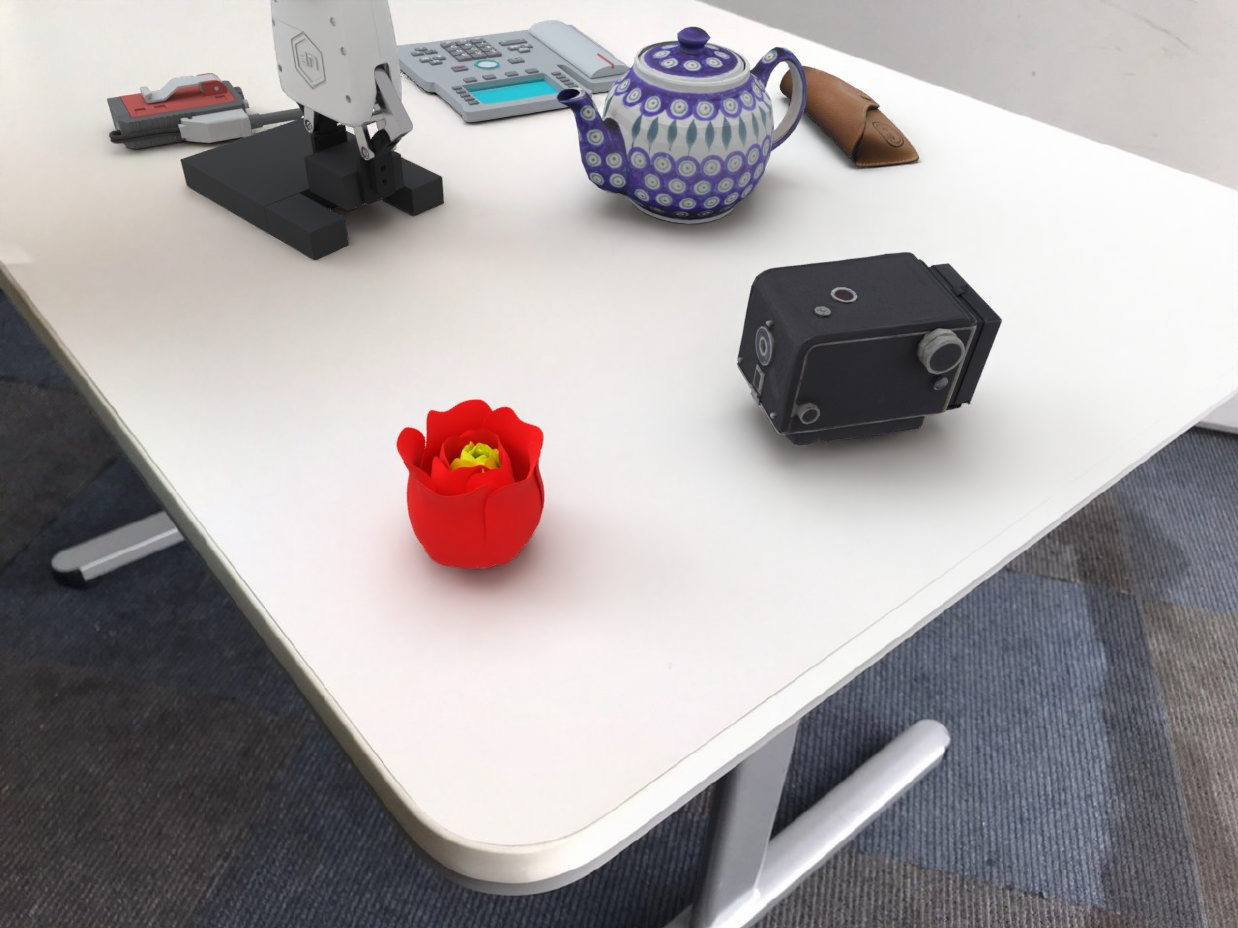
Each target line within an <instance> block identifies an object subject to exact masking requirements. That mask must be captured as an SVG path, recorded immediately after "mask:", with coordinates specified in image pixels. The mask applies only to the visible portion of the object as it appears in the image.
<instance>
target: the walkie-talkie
mask: <svg viewBox="0 0 1238 928" xmlns="http://www.w3.org/2000/svg"><path fill="white" fill-rule="evenodd" d="M139 90H140V92H138V93H132V94H131V93H130V94H126V95H119V96H114V97H108V98H106V101H107V105H108V108H109V113H110V115H111V119H112V122H113V125H114V127H115V130H112V131H110V132H109V133H108V137H109V141H110V142H111V144H114V145H115V144H116V145H121V144H124V146H125V148H128V149H133V150H139V149H146V148H151V147H156V146H164V145H169V144H174V143H179V142H185V141H186V142H195V143H205V144H211V143H216V142H222V141H228V140H234V139H241V138H245V137H248V136H250V135H253V133H252V130H255V129H261V128H263V126H268V125H274V124H279V123H288V122H292V121H295V120H297V119H300V118H303V117H304V114H303V112H302V111H301V109H300V107H297V108H291V109H284V110H278V111H273V112H268V113H267V112H266V113H247V111H246V110H247V109H249V108H250V103H249V101H248V99H245V95H244V93H243V90H242V88H241V87H240V86H234V85H233V84H232V83H231V81H230V80H224V79H223V80H221V78H220V77H219V76H218V75H217V74H216V73H212V72H206V73H200V74H196V75H187V76H179V77H173V78H171V79H170V80H169V81H168V82H167V83H166V84H164V86H162V87H161V88H160V89H158V90H151V89H150V88H149V87H148V86H146V85H145V86H140V87H139Z"/></svg>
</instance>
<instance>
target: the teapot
mask: <svg viewBox="0 0 1238 928" xmlns="http://www.w3.org/2000/svg"><path fill="white" fill-rule="evenodd" d="M676 35H677V39H676V40H675V39H674V40H665V41H660V42H659V41H658V42H653V43H650V44H648V45H645V46H643V47H641V48H639V50H638V51H637V52H636V53H635V56H634V57H633V59H634V60H633V64H632V65H631V67H630V69H629V70H628V71H627V72H625V73H624V74H623V75H622V76H621V77H619V78H618V79H617V80H616V81H615V82H614V84H613V85H612V86H611V88H610V90H609V91H607V95H606V97H605V99H604V105H603V110H602V115H601V113H600V111H599V109H598V107H597V105H596V103H595V101H594V100H593V97H592V98H591V97H590V96H589V94H588V93H587V92H586V91H584V90H582V89H581V88H577V87H573V88H568V89H564V90H562V91H561V92H559V93H558V95H557V97H556V99H557V101H559V102H560V103H562V104H564V105H566V106H568V107H567V108H569V109H570V110H571V112H572V114H573V116H574V120H575V125H576V130H577V138H578V146H579V147H578V148H579V155H580V160H581V164H582V166H583V169H584V170H585V173H586V175H587V178H588V180H589V181H591V183H592V184H593V185H595V186H596V187H597V188H598V189H600V190H602V191H604V192H606V193H610V194H617V195H621V196H625V197H627V198H628V199H629V201H630V202H631V203H632V204H633V205H634V207H636V208H637V209H638V210H639V211H641V212H643V213H644V214H647V215H649V216H651V217H653V218H656V219H659V220H663V221H666V222H671V223H676V224H677V223H679V224H687V225H693V224H694V225H695V224H702V223H708V222H713V221H716V220H719V219H721V218H724V217H726V216H728V215H729V214H730V213H732V212H733V211H734V209H735V207H736V206H737V205H738V204H739V203H741V202H742V201H743V200H745V199H746V198H747V197H748V196H750V195H751V194H752V193H753V191H754V190H755V189H756V187H757V186H758V185H759V183H760V182H761V180H762V178H763V176H764V175H765V172H766V168H767V165H768V163H769V160H770V157H771V154H772V152H773V151H774V150H776V149H777V148H778V147H780V146H781V145H782V144H784V143H785V142H786V140H788V139H789V138H790V137H791V135H792V134H793V133H794V132H795V130H796V129H797V128H798V125H799V124H800V121H801V119H802V117H803V115H804V112H805V110H804V109H805V105H806V99H807V81H806V76H805V72H804V69H803V67H802V66H803V64H802V63H801V61H800V60H799V58H798V57H797V56H796V55H795V53H793V51H792V50H790V49H788V48H787V47H782V46H774V47H773V48H771V49H769V51H768V52H766V53H765V54H764V55H763V56H762V57H761V58H760V59H759V60H758V62H757V63H756V64H755V65H754V67H753V68H751V63H750V62H749V60H748V58H746V56H745V55H743V54H741V53H740V52H739V51H736V50H734V49H731V48H729V47H727V46H724V45H721V44H717V43H714V42H709V41H710V40H711V38H712V37H711V36H710V34H709V33H708V32H707V31H706V30H705V29H704V28H701V27H699V26H687V27H684V28H682V29H680V31H678V32H677V34H676ZM781 63H786V64H787V66H788V68H789V69H790V72H791V75H792V81H793V93H792V98H791V100H790V102H789V106H788V109H787V111H786V113H785V115H784V117H783V118H782V120H781V122H780V123H779V124H778V125H777V126H776V128H775V122H774V121H775V120H774V111H773V103H772V99H771V97H770V95H769V93H768V91H767V90H766V89H767V87H768V86H767V85H768V82H769V79H770V77H771V74H772V72H773V71H774V69H776V67H777V66H778V65H779V64H781ZM789 69H788V70H789Z"/></svg>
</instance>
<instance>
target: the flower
mask: <svg viewBox="0 0 1238 928" xmlns="http://www.w3.org/2000/svg"><path fill="white" fill-rule="evenodd" d="M425 421H426V423H425V425H426V426H425V427H426V429H425V430H426V431H425V435H424V434H423V433H422V432H421V430H419V429H417V428H415V427H411V426H405V427H404V428H403V429H402V430H401V431H400V432H399V433H398V436H397V439H396V451H397V452H398V454H399V456H400V458H401V460H402V463H403V464H404V466H405V468H406V469H407V470H408V477H407V484H406V506H407V514H408V517H409V522H410V525H411V528H412V530H413V533H414V536H415V537H416V539H417V541H418V542H419V544H420V545H421V546H422V548H423V550H424V552H426V554H427V555H428V557H429V558H430V559H431V560H432V561H433V562H435V563H436V564H438V565H440V566H445V567H451V568H456V569H467V570H468V569H472V570H473V569H474V570H475V569H489V568H492V567H494V566H501V565H505V564H507V563H509V562H511V561H512V560H514V559H515V558H516V557H517V556H518V555H519V553H520V552H522V550H523V549H524V548H525V547H526V545H527V543H529V542H530V540H531V538H532V537H533V535H534V533H535V531H536V530H537V528H538V526H539V524H540V522H541V520H542V515H543V511H544V508H545V499H546V498H545V497H546V496H545V495H546V494H545V485H544V481H543V478H542V475H541V470H540V459H541V453H542V448H543V444H544V440H545V436H544V435H545V434H544V432H543V430H542V429H541V428H540V426H538V425H535V424H532V423H528V422H525V421H523V419H520V418H519V417H518V415H517V413H516V412H515V410H514V409H513V408H511V407H510V406H500V407H497V408H495V409H494V410H493V409H492V408H491V406H490V405H489V404H488V403H487V401H485V400H483V399H477V398H476V399H473V398H472V399H467V400H463V401H460V402H459V403H457V404H455V405H454V406H452V407H451V408H449V409H447V410H443V411H440V410H435V409H430V410H429V411H428V413H427V414H426V420H425Z"/></svg>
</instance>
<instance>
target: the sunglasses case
mask: <svg viewBox="0 0 1238 928" xmlns="http://www.w3.org/2000/svg"><path fill="white" fill-rule="evenodd" d="M802 67H803V69H804V72H805V76H806V81H807V99H806V105H805V109H804V112H805V113H806V115H807V116H808V117H809V118H811V120H812V121H813V122H814V123H816V125H818V127H820V128H821V129H822V130H823V131H824V133H825V134H826V135H827V136H828V137H829V138H831V140H833V141H834V143H835V144H836V145H837V146H838V147H839V148H840V149H841V150H842V151H843V152H844V153H845V154H846V156H848V157H849V158H850V159H851V160H852V161H853V163H854V165H855V166H856V167H858V168H882V167H891V166H897V165H903V164H908V163H913V162H916V161H918V160H919V159H920V155H919V153H918V151H917V150H916V148H915V146H914V145H913V144H912V142H911V141H910V140H909V139H908V137H906V136H905V134H904V133H903V132H902V131H901V129H900V128H898V127H897V125H896V124H895V123H893V121H892V120H891V119H890V118H889V117H888V116H887V115H886V114H884V113H883V112H882V111H881V110H880V109H879V108H880V104H879V103H878V102H877V101H875V99H873V97H872V96H870V95H868V94H867V93H866V92H864V91H863V90H860V89H859V88H857V87H855V86H854V85H852V84H850V83H848V82H846V81H845V80H843V79H842V78H840V77H838V76H836V75H834V74H831V73H829V72H827V71H825V70H821V69H818V68H816V67H812V66H808V65H802ZM779 91H780V92H781V94H782V95H783V96H785V97H786V98H787V99H788V100H790V101H791V98H792V93H793V81H792V75H791V72H790V69H788V70H787V71H786V72H785V73H784V74H783V76H782V77H781V80H780V84H779Z"/></svg>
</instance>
